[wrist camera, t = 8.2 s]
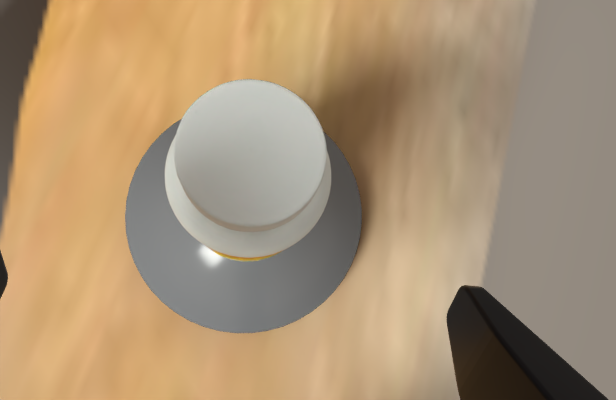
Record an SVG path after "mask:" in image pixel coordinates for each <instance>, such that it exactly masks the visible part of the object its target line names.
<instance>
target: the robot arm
mask: <svg viewBox="0 0 616 400" xmlns="http://www.w3.org/2000/svg"><path fill="white" fill-rule="evenodd" d="M7 280H8V274H7V270H6V267H5V264H4V260H3V257H2V254H1V251H0V299H1V297H2V294H3V292H4V290H5V288H6V285H7ZM447 327H448V333H449V339H450V345H451V351H452V357H453V363H454V369H455V375H456V381H457V386H458V392H459V396H460V400H608V399H607V398H606V397H605V396H604V395H603V394H602V393H600V392H599V391H598V390H597V389H596V388H595V387H594V386H593V385H591V384H590V383H589V382H588V381H587V380H586V379H585V378H584V377H583V376H581V375H580V374H579V373H578V372H577V371H576V370H575V369H574V368H572V367H571V366H570V365H569V364H568V363H567V362H566V361H565V360H564V359H562V358H561V357H560V356H559V355H558V354H556V352H555V351H553V350H552V349H551V348H550V347H549V346H548V345H547V344H546V343H544V342H543V341H542V340H541V339H540V338H539V337H538V336H537V335H535V334H534V333H533V332H532V331H531V330H530V329H529V328H528V327H526V326H525V325H524V324H523V323H522V322H521V321H520V320H519V319H517V318H516V317H515V316H514V315H513V314H512V313H511V312H510V311H508V310H507V309H506V308H505V307H504V306H503V305H502V304H501V303H500V302H498V301H497V300H496V299H495V298H494V297H493V296H492V295H491V294H489V293H488V292H487V291H486V290H485V289H484V288H482V287H479V286H468V285H464V286H461V287H460V288H459V290H458V292H457V294H456V296H455V298H454V300H453V302H452V304H451V306H450V308H449V310H448V313H447Z"/></svg>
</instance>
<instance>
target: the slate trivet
mask: <svg viewBox="0 0 616 400" xmlns="http://www.w3.org/2000/svg"><path fill="white" fill-rule="evenodd" d="M181 120H182V119H181ZM181 120H179V121H177V122H176V123H174V124H173V125H172V126H171V127H169V128H168V129H167V130H166V131H164V132H163V133H162V134H161V135H160V136H159V137H158V138H157V139H156V140H155V142H154V143H153V144H152V145H151V146H150V148H149V149H148V150H147V152H146V153H145V155H144V156H143V157H142V159H141V161H140V163H139V165H138V167H137V169H136V171H135V173H134V176H133V179H132V181H131V184H130V187H129V192H128V196H127V201H126V213H125V221H126V234H127V239H128V244H129V248H130V251H131V254H132V257H133V260H134V263H135V265H136V267H137V269H138V271H139V273H140V274H141V276H142V278H143V279H144V281H145V282H146V284H147V285H148V286H149V288H150V289H151V291H152V292H153V293H154V294H155V295H156V296H157V297H158V298H159V299H160V300H161V301H162V302H163V303H164V304H165V305H167V306H168V307H169V308H170V309H172V310H173V311H174V312H176V313H177V314H179V315H181V316H182V317H184V318H186V319H187V320H189V321H191V322H194V323H196V324H198V325H201V326H203V327H207V328H210V329H214V330H218V331H223V332H231V333H255V332H262V331H268V330H272V329H276V328H279V327H283V326H285V325H288V324H290V323H292V322H294V321H297V320H299V319H300V318H302V317H304V316H305V315H307V314H309V313H310V312H312V311H313V310H314V309H316V308H317V307H318V306H320V305H321V304H322V303H323V302H324V301H325V300H326V299H327V298H328V297H329V296H330V295H331V294H332V293H333V292H334V291H335V290H336V288H337V287H338V286H339V284H340V283H341V281H342V280H343V279H344V277H345V275H346V273H347V272H348V270H349V268H350V266H351V264H352V261H353V259H354V256H355V254H356V251H357V247H358V243H359V239H360V233H361V224H362V208H361V201H360V194H359V190H358V186H357V183H356V179H355V177H354V174H353V172H352V170H351V167H350V165H349V163H348V162H347V160H346V158H345V156H344V155H343V153H342V152H341V150H340V149H339V148H338V147H337V145H336V144H335V143H334V141H333V140H332V139H331V138H330V137H329V136H328V135H327V134H326V133H325V132H324V131H323V133H324V136H325V140H326V147H327V152H328V155H329V159H330V166H331V188H330V194H329V198H328V201H327V204H326V207H325V209H324V211H323V213H322V215H321V217H320V219H319V220H318V222H317V223H316V225H315V226H314V227H313V228H312V229H311V231H310V232H309V233H308V234H307V235H306V236H305V237H303V238H302V239H301V240H300V241H298V242H297V243H295V244H294V245H292V246H291V247H289V248H287V249H285V250H283V251H282V252H280V253H279V254H276V255H274V256H272V257H270V258H267V259H263V260H259V261H250V262H244V261H235V260H230V259H227V258H225V257H222V256H220V255H218V254H216V253H215V252H213V251H212V250H210V249H209V248H208V247H206V246H205V245H203V244H202V243H201V242H199V241H198V240H197V239H195V238H194V237H193V236H192V235H191V234H190V233H189V232H188V231H187V230H186V229H185V228H184V227H183V226H182V225H181V223H180V222H179V220H178V219H177V217H176V216H175V214H174V212H173V210H172V208H171V205H170V203H169V200H168V197H167V193H166V187H165V164H166V158H167V154H168V151H169V148H170V146H171V143H172V141H173V139H174V137H175V135H176V133H177V129H178V127H179V124H180V122H181Z"/></svg>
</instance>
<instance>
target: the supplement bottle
mask: <svg viewBox="0 0 616 400" xmlns="http://www.w3.org/2000/svg"><path fill="white" fill-rule="evenodd" d="M165 187H166V193H167V197H168V200H169V203H170V205H171V208H172V210H173V212H174V214H175V216H176V217H177V219H178V220H179V222H180V223H181V225H182V226H183V227H184V228H185V229H186V230H187V231H188V232H189V233H190V234H191V235H192V236H193V237H194V238H195V239H197V240H198V241H199V242H201V243H202V244H203V245H205V246H206V247H208V248H209V249H210V250H212V251H213V252H215V253H216V254H218V255H220V256H222V257H225V258H227V259H230V260H235V261H244V262H250V261H259V260H263V259H267V258H270V257H272V256H274V255H276V254H279V253H280V252H282V251H283V250H285V249H287V248H289V247H291V246H292V245H294V244H295V243H297V242H298V241H300V240H301V239H302V238H303V237H305V236H306V235H307V234H308V233H309V232H310V231H311V229H312V228H313V227H314V226H315V225H316V223H317V222H318V220H319V219H320V217H321V215H322V213H323V211H324V209H325V207H326V204H327V201H328V198H329V194H330V188H331V166H330V159H329V155H328V152H327V147H326V140H325V136H324V133H323V129H322V127H321V125H320V122H319V120H318V119H317V117H316V115H315V114H314V112H313V111H312V109H311V108H310V107H309V106H308V105H307V104H306V103H305V102H304V101H303V100H302V99H301V98H300V97H299V96H297V95H296V94H295V93H293V92H292V91H290V90H288V89H286V88H284V87H282V86H280V85H278V84H275V83H272V82H268V81H263V80H254V79H243V80H235V81H231V82H227V83H224V84H221V85H219V86H217V87H215V88H213V89H211V90H209V91H207V92H206V93H205V94H203V95H202V96H200V97H199V98H198V99H197V100H196V101H195V102H194V103H193V104H192V105H191V106H190V107H189V109H188V110H187V111H186V113H185V115H184V116H183V118H182V120H181V122H180V124H179V127H178V129H177V133H176V135H175V137H174V139H173V141H172V143H171V146H170V148H169V151H168V154H167V158H166V164H165Z"/></svg>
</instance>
